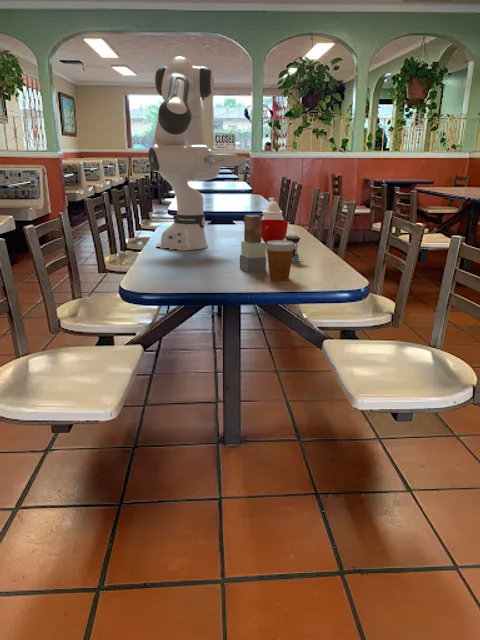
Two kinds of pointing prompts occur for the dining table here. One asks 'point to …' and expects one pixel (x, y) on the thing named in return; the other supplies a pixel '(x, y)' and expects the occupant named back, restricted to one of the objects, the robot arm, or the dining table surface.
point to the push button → (294, 239)
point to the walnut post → (252, 228)
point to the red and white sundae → (272, 211)
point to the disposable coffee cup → (279, 259)
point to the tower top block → (253, 249)
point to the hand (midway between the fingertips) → (239, 158)
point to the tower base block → (252, 264)
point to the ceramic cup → (273, 230)
